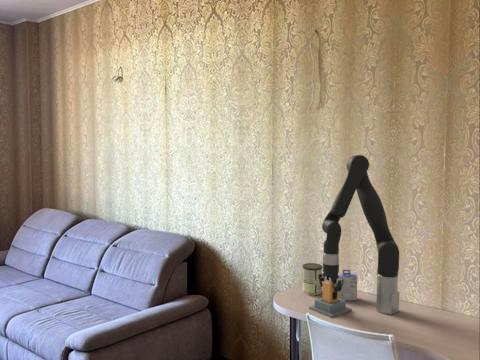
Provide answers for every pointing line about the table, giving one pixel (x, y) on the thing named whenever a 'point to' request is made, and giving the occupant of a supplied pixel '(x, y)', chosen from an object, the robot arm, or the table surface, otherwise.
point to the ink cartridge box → (348, 286)
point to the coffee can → (311, 278)
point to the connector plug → (328, 293)
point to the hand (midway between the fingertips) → (330, 297)
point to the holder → (330, 307)
